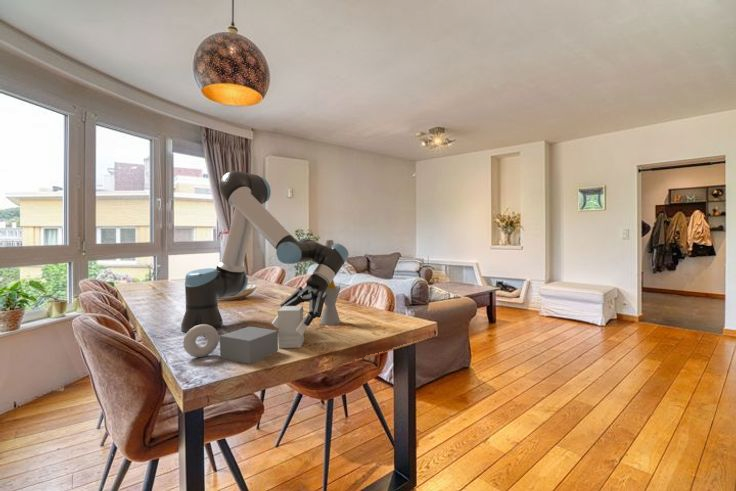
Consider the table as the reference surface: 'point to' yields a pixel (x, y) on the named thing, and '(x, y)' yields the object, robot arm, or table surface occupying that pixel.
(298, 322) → the supplement box
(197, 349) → the donut
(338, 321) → the lava lamp
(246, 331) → the slate block
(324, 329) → the table surface
